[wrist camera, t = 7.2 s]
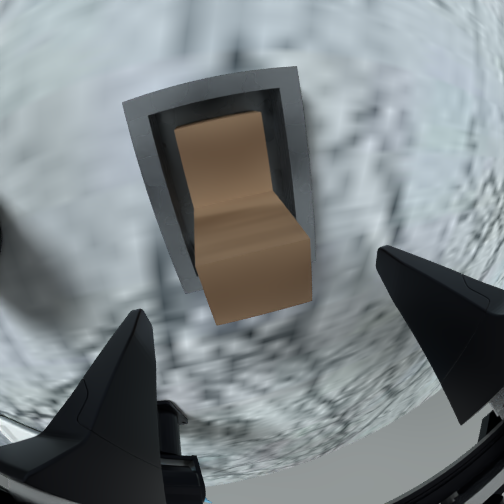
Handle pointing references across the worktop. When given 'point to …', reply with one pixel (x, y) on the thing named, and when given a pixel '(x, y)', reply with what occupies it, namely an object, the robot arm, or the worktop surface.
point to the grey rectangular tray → (209, 106)
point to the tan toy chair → (241, 221)
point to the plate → (16, 430)
